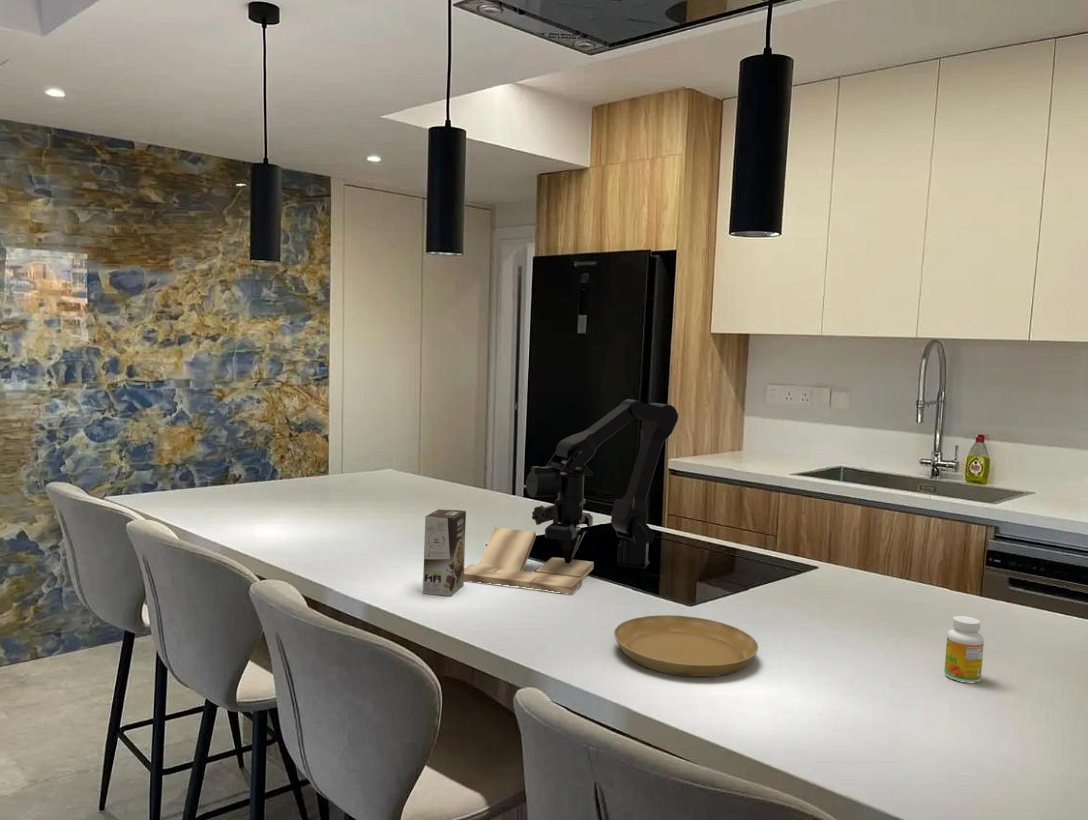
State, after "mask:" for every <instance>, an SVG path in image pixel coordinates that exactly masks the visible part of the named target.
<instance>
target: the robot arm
mask: <svg viewBox="0 0 1088 820" xmlns="http://www.w3.org/2000/svg"><path fill="white" fill-rule="evenodd" d="M635 419H638V420H639V419H640V420H641V423H640V424H641V425H640V426H641V431H642V440H641V443H640V447H639V450H638V452H637V453H638V454H637V457H636V460H635V464H634V467H633V470H632V472H631V476H630V481H629V482H628V487H627V489H626V493H625V495H624V496H623V497H622V498H621V499H616V498H615V499H614V502H613V506H612V510H611V512H610V513H609V516H611V518H610V523H611V525H612V527H613V529H614V530H615V533H616V536H617V537H619V538H620V541H619V544H618V546H617V559H616V560H617V567H621V568H622V567H623V568H633V569H638V570H639V569H640V570H645V569H646V568H647V567H648V565H649V564H650V561H649V544H650V543H653V542H654V539H655V536H656V533H655V532H654V531H653V530H652V528H650V526H649V525H648V524H647V522H648V515H649V512H648V506H647V498H648V494H649V491H650V487H651V484H652V481H653V477H654V474H655V472H656V467H657V464H658V461H659V457H660V454H661V451H662V447H663V444H664V442H666V441H667V439H669V437H670V435H672V434H673V432H674V429H675V427H676V425H677V423H678V420H679V413H678V411H677V408H675V406H673V405H671V404H665V403H658V402H657V403H656V402H651V403H645V402H641V401H640V400H636V399H630V398H629V399H624V400H623V401H622V402H621V403H620V404H619V405H618V406H616V407H615V408H614V409H612V410H611V411H610V412H608V413H607V414H606V415H604V416H603V417H602V418H600V419H599V420H598V421H596V422H595V423H594V424H592V425H591V426H590V427H588V428H587V429H585V430H584V431H583V430H582V431H581V432H577V433H575V434H572V435H570V436H567V437H565V438H564V439H561V440H560V441H559V442H558V443H557V445H556V449H555V452H554V453H553V454H552V456H551V458H550V459H549V461H548V462H547V464H545V466H537V465H536V466H535V465H534V466H531V467H530V472H529V473H528V475H527V476H526V477H527V478H526V480H525V488H526V493H527V495H528V496H529V497H530V498H544V497H556V496H558V497H557V499H555V500H554V503H553V504H552V505H551V504H550V505H547V506H543V505H539V506H535V507H534V508H533V511H532V512H531V514H532V517H531V519H532V520H533V521H535V525H536V526H538V525H541V524H543V523H547V522H550V521H552V523H550V524H548V526H547V527H546V528H545V529H544V538H546V539H551V540H558V541H559V544H560V547H561V552H562V555H563V558H564V560H565V563H570V562H571V561H572V559H573V560H574V557H575V555H576V552H577V551H578V548H579V547H580V544H581V543H582V540H583V538H584V536H585V534H586V533H587V530H586V529H581V527H580V525H586V526H587V528H590V527H592V526H593V520H594V518H593V515H591V513H589V512H584V505H585V504H586V498H584V494H585V493H584V489H585V488H584V487H585V485H584V484H585V476H593V475H594V473H593V471H592V470H590V468H589V467H588V465H587V463H588V462H589V461H590V460H591V459H592V458H593V457H594V456H595V454H596V451H597V449H598V448H599V447H600V446H601V445H602V444H603V443H604V442H606V441H607V440H608V439H609V438H612V436H614V435H615V434H616V433H617V432H619V431H620V430H621V429H623V428H624V427H625V426H627V425H628V424H629V423H631V422H632V421H634V420H635Z"/></svg>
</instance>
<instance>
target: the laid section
mask: <svg viewBox="0 0 1088 820" xmlns="http://www.w3.org/2000/svg"><path fill="white" fill-rule="evenodd" d="M467 581H472V582H471V583H474V582H481V583H480V584H482V583H491V584H501V585H509V586H519V587H526V588H533V589H541V590H548V591H554V592H560V593H568V594H572V593H573V592H574V591H575V590H576V589H577V590H578V589H579V587H580V586H581V585H582V586H583V580H582V578H577V577H568V576H560V575H552V574H544V573H536V571H528V570H527V571H526V570H523V571H520V570H512V569H503V568H495V567H487V566H479V565H478V564H477V565H476V564H470V565H468V566H466V567H464V582H467ZM580 588H581V587H580ZM577 590H576V591H577ZM576 591H575V592H576ZM575 592H574V593H575ZM574 593H573V594H574ZM573 594H572V595H573Z"/></svg>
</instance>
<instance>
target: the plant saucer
mask: <svg viewBox="0 0 1088 820" xmlns="http://www.w3.org/2000/svg"><path fill="white" fill-rule="evenodd" d="M613 634H614V635H613V636H614V638H615V641H616V644H617V645H618V647H619V648H620V649H621V651H623V653H624V654H625V655H626V656H627V657H628V658H630V659H631V660H632V661H634V662H636V664H639V665H640V666H643V667H645V668H647V667H648V669H650V670H653V671H656V670H657V671H656V672H659V671H660V673H663V672H664V673H665V674H668V673H670V674H669V675H673V674H676V675H675V676H680V675H684V676H683V677H690V676H712V677H718V676H717V675H720V676H725V675H729V674H733V673H734V672H735V673H736V672H737V671H739V670H741V669H742V668H744V667H745V666H747V665H748V664H749V663H750V662H752V661H753V659H754V658H755V657H756V655H757V653H758V651H759V644H758V641H756V639H755V638H754V637H753V636H752V635H751V634H749V633H747V632H745V631H744V630H741V629H740V628H738V627H735V626H732V625H729V624H728V623H723V622H721V621H716V620H712V619H707V618H702V617H695V616H688V615H676V614H675V615H669V614H666V615H665V614H663V615H662V614H661V615H660V614H659V615H658V614H657V615H656V614H655V615H647V616H645V615H644V616H640V617H634V618H631V619H628V620H625V621H622V622H621V623H620V624H618V625H617V626H616V627H615V629H614V631H613ZM728 673H729V674H728ZM724 674H725V675H724Z"/></svg>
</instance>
